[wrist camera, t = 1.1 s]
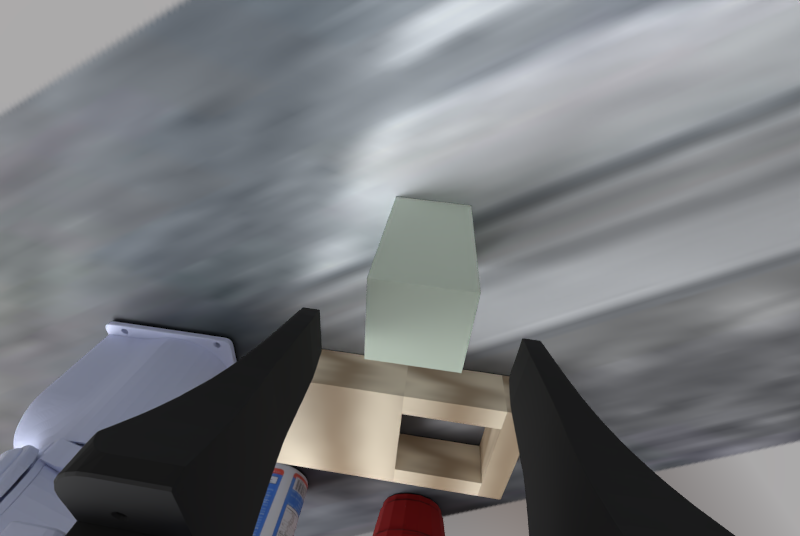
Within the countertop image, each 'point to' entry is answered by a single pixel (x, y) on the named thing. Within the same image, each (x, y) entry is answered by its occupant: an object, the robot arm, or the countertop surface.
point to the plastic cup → (409, 517)
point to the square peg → (423, 286)
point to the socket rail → (381, 419)
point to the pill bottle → (282, 502)
